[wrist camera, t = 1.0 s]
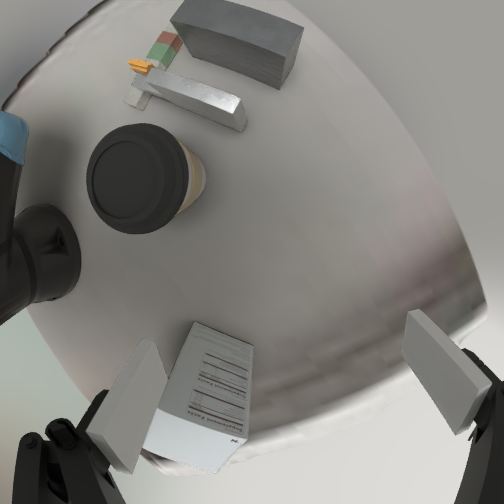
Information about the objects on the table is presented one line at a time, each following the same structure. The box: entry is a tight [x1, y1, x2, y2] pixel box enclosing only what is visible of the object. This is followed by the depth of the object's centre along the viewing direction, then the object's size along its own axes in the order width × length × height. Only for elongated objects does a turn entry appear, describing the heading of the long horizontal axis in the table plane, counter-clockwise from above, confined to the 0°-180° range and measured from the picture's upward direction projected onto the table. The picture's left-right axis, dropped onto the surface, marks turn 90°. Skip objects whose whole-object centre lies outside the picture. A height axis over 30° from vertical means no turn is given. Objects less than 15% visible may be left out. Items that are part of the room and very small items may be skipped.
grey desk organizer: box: [123, 0, 304, 110], centre depth 24 cm, size 17×13×10 cm
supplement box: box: [142, 322, 254, 474], centre depth 31 cm, size 10×9×17 cm
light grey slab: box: [132, 68, 247, 133], centre depth 25 cm, size 14×2×10 cm, turn 63°
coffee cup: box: [86, 123, 206, 234], centre depth 25 cm, size 9×9×15 cm
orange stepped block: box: [128, 59, 157, 76], centre depth 25 cm, size 3×1×3 cm, turn 63°
